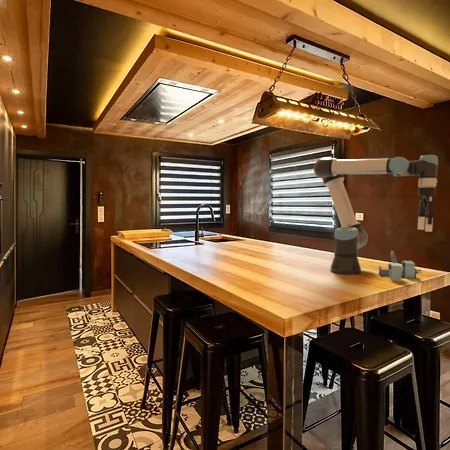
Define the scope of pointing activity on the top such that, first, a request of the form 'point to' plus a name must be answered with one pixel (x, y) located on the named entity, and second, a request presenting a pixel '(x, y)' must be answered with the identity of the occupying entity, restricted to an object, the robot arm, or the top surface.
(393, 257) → the grey small pieces
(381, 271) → the grey green clamp
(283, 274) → the top surface
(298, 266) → the top surface
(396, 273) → the grey green block
